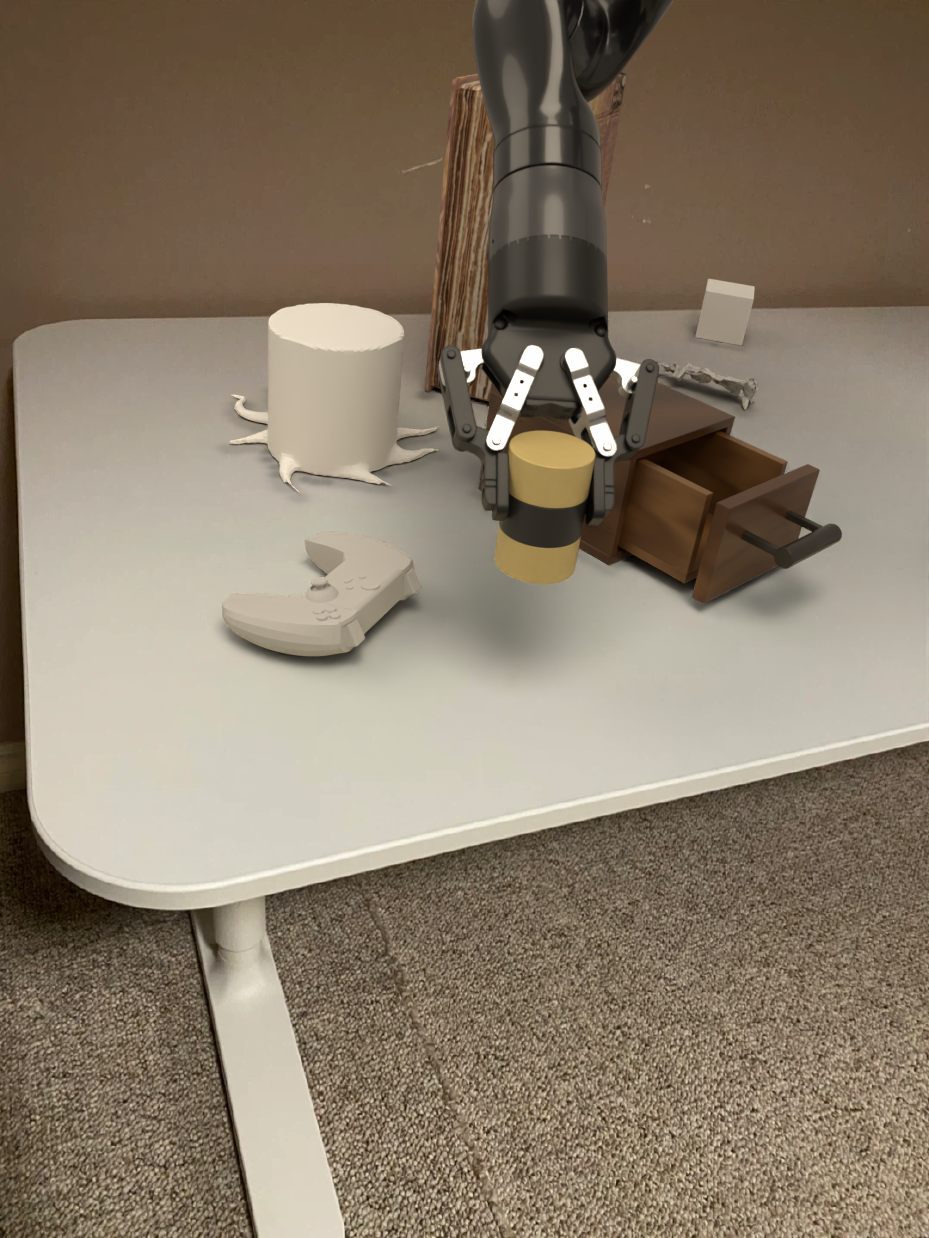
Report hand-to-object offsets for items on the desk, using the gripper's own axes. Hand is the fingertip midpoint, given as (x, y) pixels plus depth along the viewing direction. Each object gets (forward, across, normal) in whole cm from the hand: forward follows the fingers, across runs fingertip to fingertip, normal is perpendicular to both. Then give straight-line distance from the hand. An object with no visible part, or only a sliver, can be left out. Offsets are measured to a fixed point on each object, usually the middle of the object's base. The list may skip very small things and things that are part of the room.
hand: (548, 518), depth 65 cm
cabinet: (-10, +10, +29) cm, 32 cm away
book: (-33, +6, +52) cm, 62 cm away
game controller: (+4, -13, +15) cm, 20 cm away
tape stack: (+2, 0, +4) cm, 5 cm away
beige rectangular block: (-45, +36, +64) cm, 86 cm away
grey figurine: (-31, +27, +50) cm, 65 cm away
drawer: (-4, +17, +22) cm, 28 cm away
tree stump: (-17, -14, +36) cm, 42 cm away
